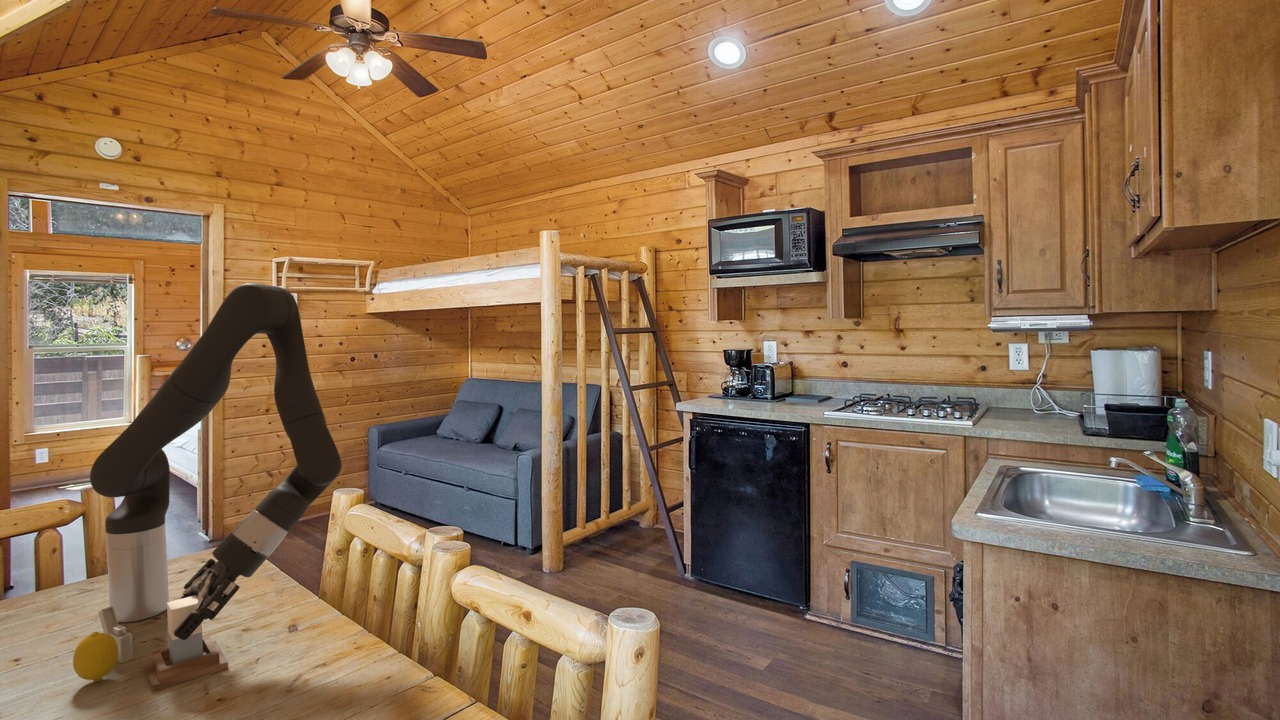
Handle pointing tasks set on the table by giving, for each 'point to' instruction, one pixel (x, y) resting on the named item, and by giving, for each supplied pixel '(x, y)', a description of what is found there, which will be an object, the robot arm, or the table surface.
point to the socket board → (184, 666)
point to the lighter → (117, 633)
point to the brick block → (176, 616)
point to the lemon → (95, 656)
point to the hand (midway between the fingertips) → (174, 628)
